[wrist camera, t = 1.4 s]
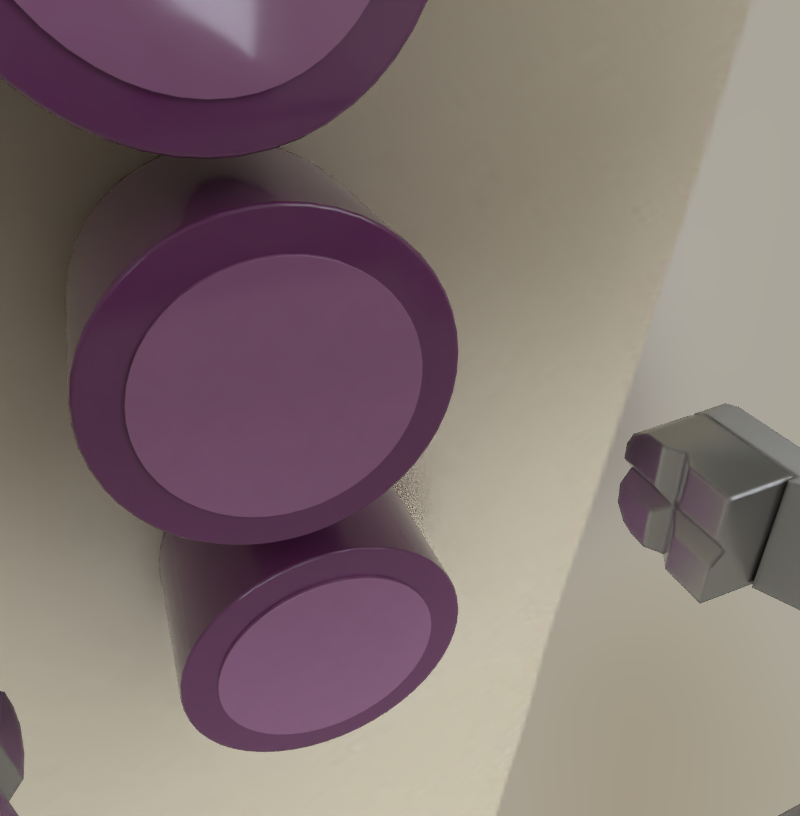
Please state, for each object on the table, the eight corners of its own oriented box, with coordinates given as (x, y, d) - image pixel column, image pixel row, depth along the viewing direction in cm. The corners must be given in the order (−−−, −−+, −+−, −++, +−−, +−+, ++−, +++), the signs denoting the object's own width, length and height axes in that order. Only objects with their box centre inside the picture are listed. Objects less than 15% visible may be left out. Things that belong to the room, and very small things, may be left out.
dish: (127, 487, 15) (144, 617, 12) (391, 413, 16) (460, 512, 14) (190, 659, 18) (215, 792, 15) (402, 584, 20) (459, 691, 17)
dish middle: (11, 170, 11) (-4, 252, 8) (371, 118, 13) (462, 169, 10) (119, 465, 14) (135, 594, 11) (390, 392, 16) (460, 489, 13)
